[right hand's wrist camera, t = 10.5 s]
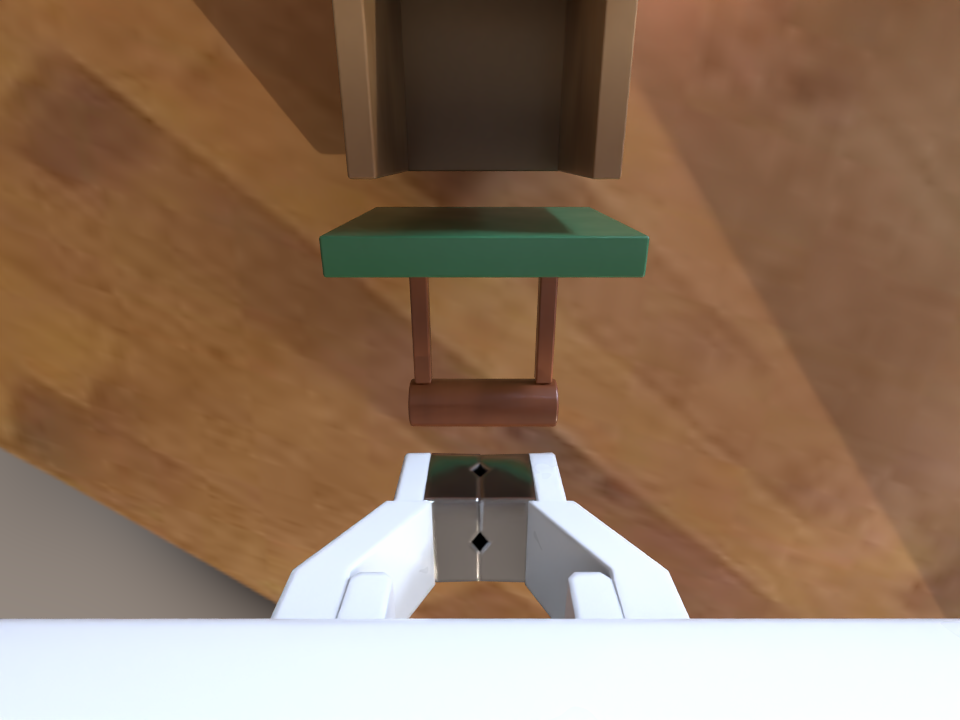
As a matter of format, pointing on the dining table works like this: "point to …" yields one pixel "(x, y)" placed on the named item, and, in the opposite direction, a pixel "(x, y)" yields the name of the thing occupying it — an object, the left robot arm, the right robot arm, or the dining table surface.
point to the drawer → (484, 164)
